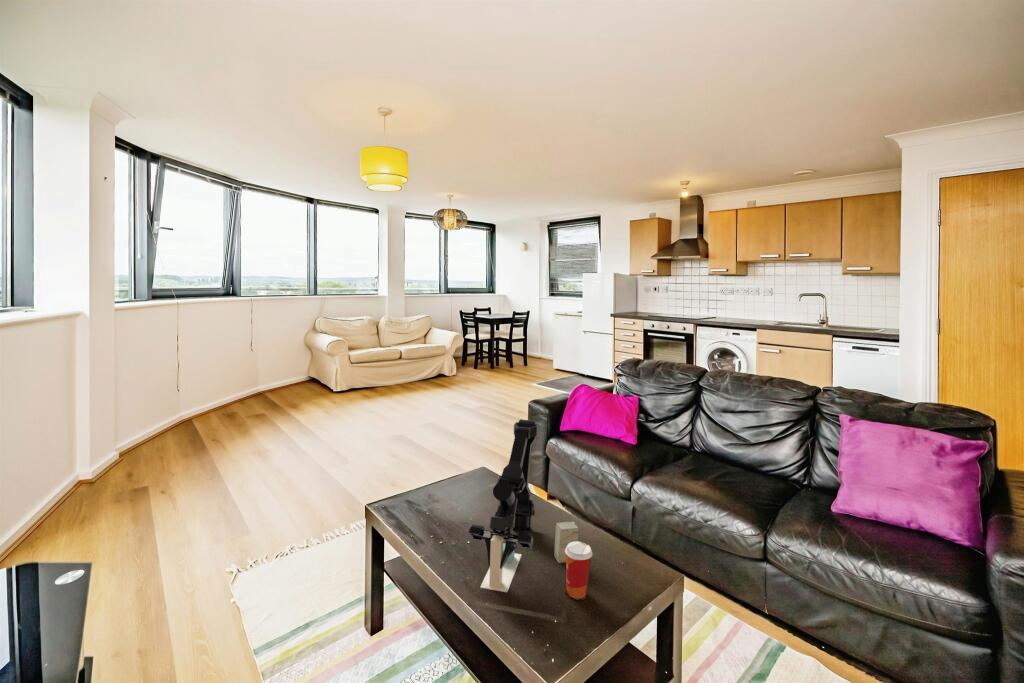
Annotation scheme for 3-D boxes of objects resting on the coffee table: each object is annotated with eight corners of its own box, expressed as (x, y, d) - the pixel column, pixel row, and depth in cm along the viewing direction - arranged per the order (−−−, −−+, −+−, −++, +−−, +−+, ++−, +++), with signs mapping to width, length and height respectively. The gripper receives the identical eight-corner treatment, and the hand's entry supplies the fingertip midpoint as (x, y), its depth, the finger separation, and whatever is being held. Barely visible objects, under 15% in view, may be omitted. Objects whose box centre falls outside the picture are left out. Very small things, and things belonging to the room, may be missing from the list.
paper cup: (572, 581, 139) (574, 537, 137) (595, 593, 134) (597, 547, 132) (557, 594, 133) (559, 548, 131) (580, 606, 128) (583, 559, 126)
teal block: (502, 554, 150) (502, 543, 149) (514, 556, 149) (514, 545, 148) (498, 561, 146) (499, 549, 146) (511, 563, 145) (511, 551, 145)
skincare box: (558, 566, 146) (560, 529, 145) (553, 558, 151) (555, 522, 149) (577, 563, 148) (579, 527, 147) (571, 555, 152) (573, 520, 151)
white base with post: (497, 553, 152) (499, 509, 151) (521, 557, 151) (523, 513, 149) (479, 590, 134) (481, 541, 132) (507, 595, 132) (508, 545, 130)
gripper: (471, 498, 138) (457, 554, 129) (533, 507, 134) (523, 565, 125) (478, 511, 147) (466, 564, 137) (536, 520, 142) (528, 575, 133)
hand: (495, 567), depth 133 cm, fingers closed on white base with post, 3 cm apart
